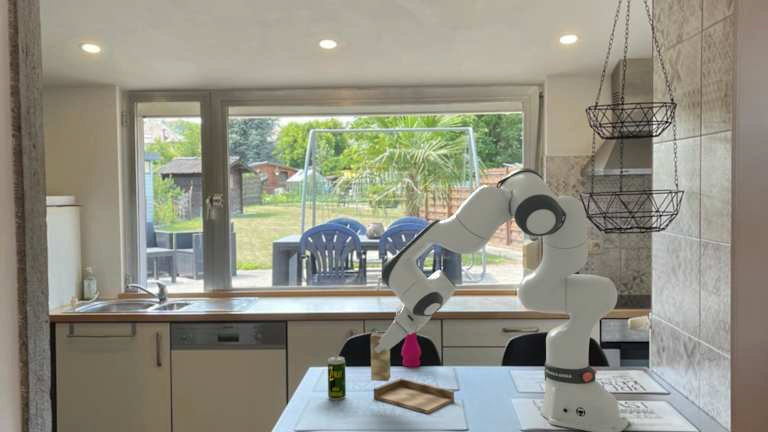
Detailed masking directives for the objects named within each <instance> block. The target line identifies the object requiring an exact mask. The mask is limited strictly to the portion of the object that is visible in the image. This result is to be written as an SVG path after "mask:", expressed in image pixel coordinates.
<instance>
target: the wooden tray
mask: <svg viewBox="0 0 768 432" xmlns="http://www.w3.org/2000/svg"><path fill="white" fill-rule="evenodd" d="M374 399H375V400H379V401H382V402H385V403H389V404H392V405H396V406H398V405H399V406H400V407H403V408H406V409H409V410H411V411H412V410H413V411H417V412H419V413H424V414H428V415H429V414H430V413H432V412H434V411H437V410H438V409H441V408H443V407H445V406H447V405H449V404H451V403H453V402H455V391H454V390H451V389H447V388H443V387H439V386H436V385H435V386H434V385H431V384H427V383H422V382H418V381H414V380H410V379H406V378H402V377H401V378H398V379H395V380H393V381H390V382H388V383H387V382H386V383H385V384H383V385H380V386H376V387H375V388H373V400H374ZM399 406H398V407H399Z"/></svg>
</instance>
